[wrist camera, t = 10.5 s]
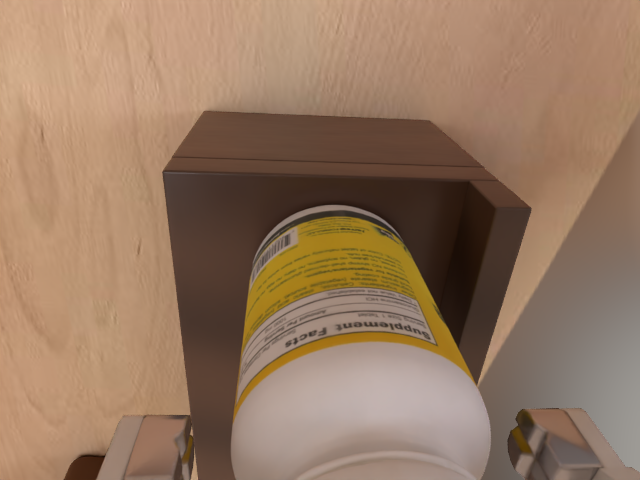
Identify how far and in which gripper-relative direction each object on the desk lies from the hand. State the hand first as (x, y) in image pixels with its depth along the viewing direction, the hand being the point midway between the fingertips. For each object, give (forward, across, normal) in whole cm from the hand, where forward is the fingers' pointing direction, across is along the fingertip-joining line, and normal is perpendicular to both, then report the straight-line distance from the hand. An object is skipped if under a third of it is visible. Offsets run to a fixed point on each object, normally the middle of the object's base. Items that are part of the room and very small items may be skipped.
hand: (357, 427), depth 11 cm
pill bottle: (+8, 0, 0) cm, 8 cm away
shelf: (+16, 0, +10) cm, 19 cm away
